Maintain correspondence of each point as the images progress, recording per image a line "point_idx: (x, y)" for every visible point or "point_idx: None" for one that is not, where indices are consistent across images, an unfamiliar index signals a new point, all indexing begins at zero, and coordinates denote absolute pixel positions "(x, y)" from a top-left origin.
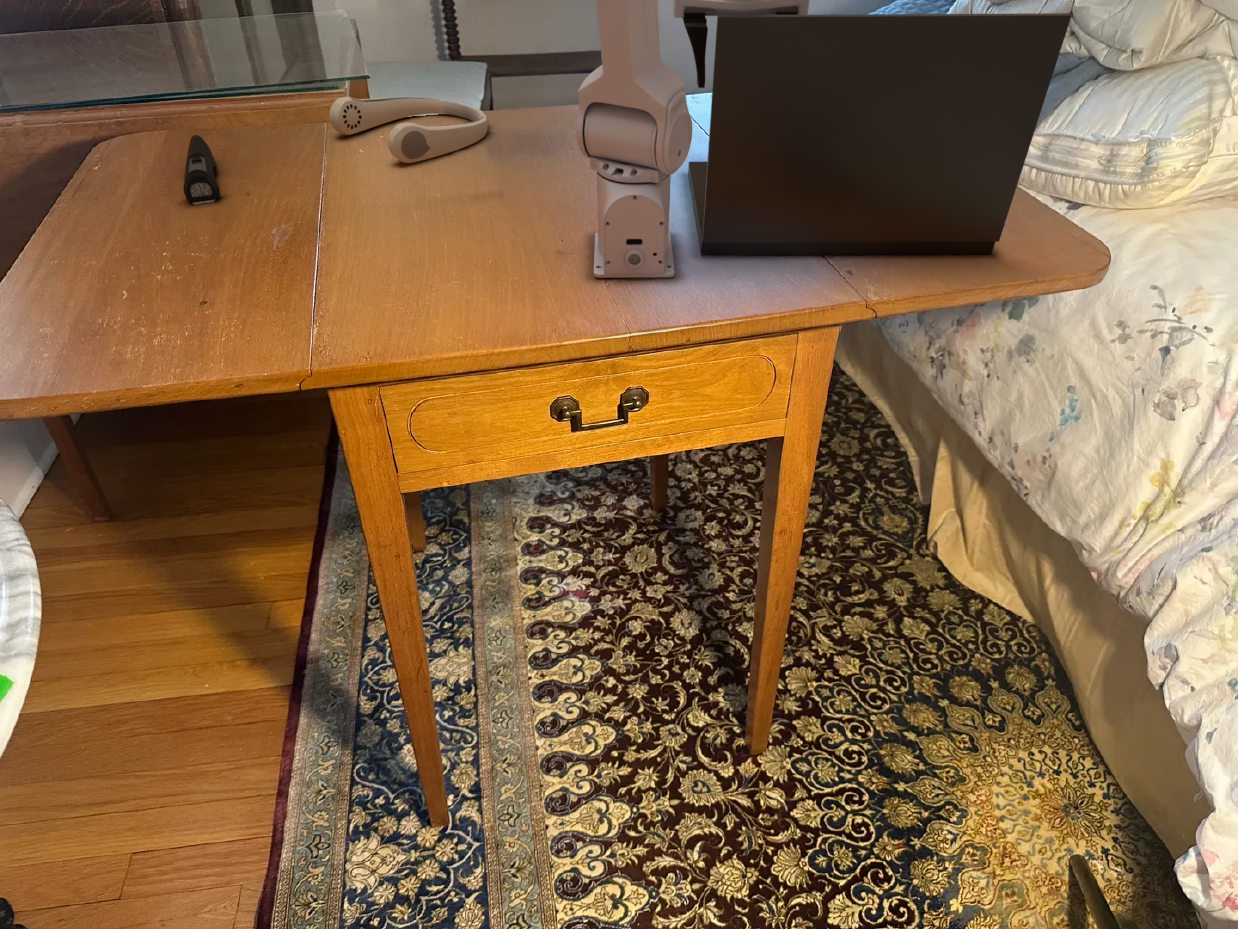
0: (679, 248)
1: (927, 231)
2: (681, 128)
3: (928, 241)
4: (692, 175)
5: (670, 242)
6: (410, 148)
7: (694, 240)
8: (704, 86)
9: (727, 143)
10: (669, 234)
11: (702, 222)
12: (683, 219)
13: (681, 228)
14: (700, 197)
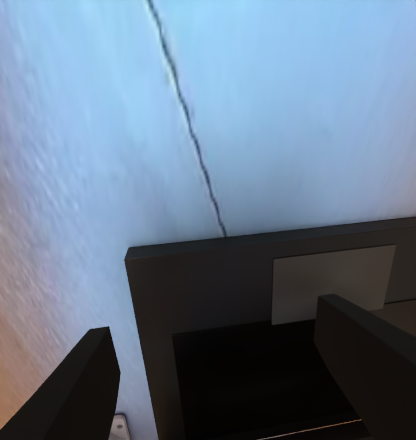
0: (138, 428)
1: None
2: None
3: None
4: (136, 311)
5: (127, 437)
6: None
7: (153, 412)
8: (119, 376)
9: None
10: (123, 423)
11: (160, 429)
12: (136, 373)
13: (136, 392)
14: (154, 375)
